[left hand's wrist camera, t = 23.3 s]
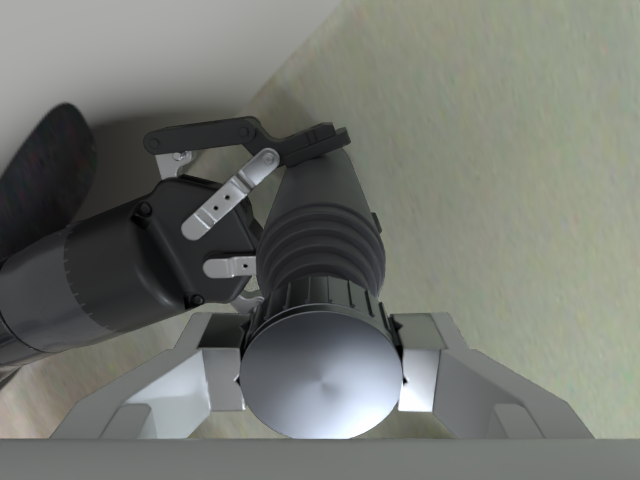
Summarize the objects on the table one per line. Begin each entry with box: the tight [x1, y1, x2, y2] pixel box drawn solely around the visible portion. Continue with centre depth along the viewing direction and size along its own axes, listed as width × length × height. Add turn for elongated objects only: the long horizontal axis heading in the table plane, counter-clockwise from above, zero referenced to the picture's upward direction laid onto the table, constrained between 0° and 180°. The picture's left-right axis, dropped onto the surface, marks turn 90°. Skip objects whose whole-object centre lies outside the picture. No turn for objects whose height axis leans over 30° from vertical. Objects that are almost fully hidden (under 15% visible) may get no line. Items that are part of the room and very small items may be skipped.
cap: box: [239, 276, 404, 439], centre depth 10 cm, size 4×4×2 cm
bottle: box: [256, 148, 385, 300], centre depth 19 cm, size 5×5×21 cm
